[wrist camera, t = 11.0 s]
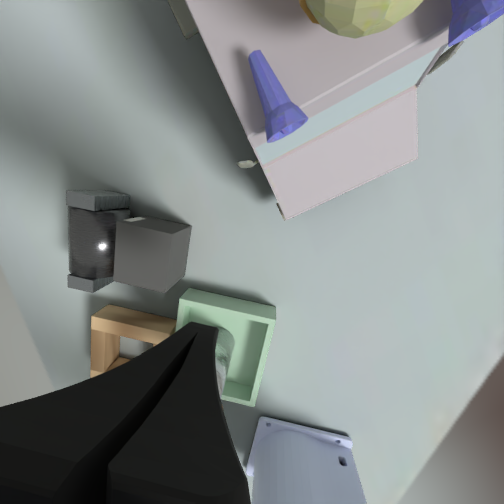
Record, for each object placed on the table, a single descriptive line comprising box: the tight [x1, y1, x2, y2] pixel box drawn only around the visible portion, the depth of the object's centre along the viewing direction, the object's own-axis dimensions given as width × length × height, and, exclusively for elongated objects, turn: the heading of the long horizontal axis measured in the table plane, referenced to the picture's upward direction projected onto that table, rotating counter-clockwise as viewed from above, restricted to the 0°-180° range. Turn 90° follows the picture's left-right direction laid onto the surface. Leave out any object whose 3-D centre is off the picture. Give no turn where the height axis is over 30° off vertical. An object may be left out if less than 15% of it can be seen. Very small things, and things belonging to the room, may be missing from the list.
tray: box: [175, 288, 276, 407], centre depth 21 cm, size 8×9×2 cm
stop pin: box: [214, 326, 235, 408], centre depth 18 cm, size 4×4×8 cm
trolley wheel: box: [66, 190, 130, 293], centre depth 19 cm, size 4×7×4 cm, turn 169°
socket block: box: [90, 304, 177, 378], centre depth 22 cm, size 7×7×2 cm
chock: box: [113, 216, 192, 293], centre depth 19 cm, size 4×4×4 cm
